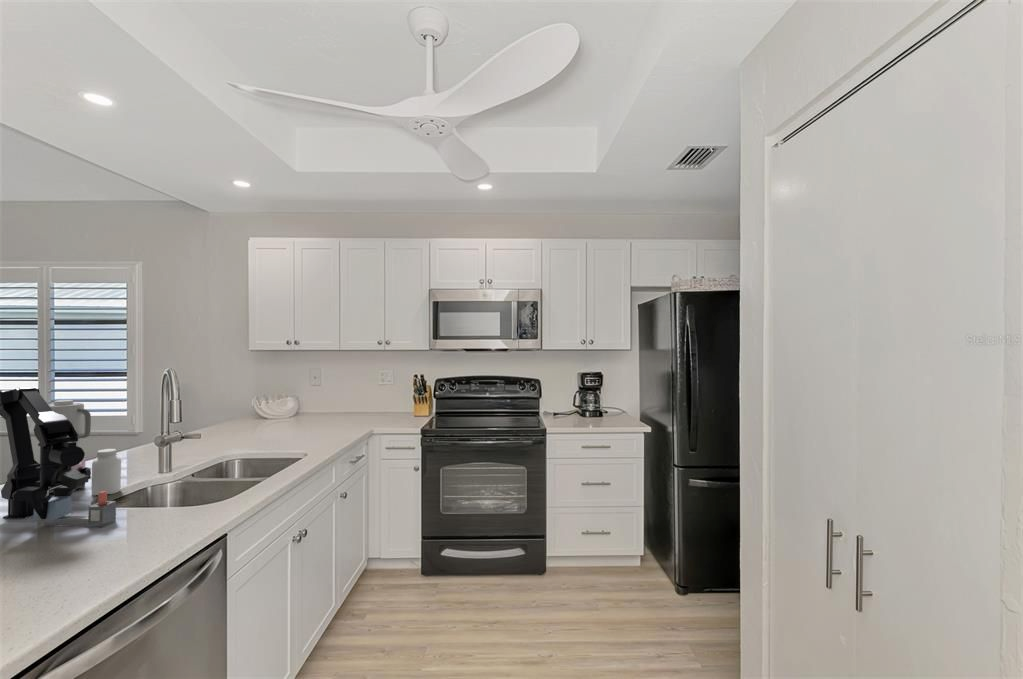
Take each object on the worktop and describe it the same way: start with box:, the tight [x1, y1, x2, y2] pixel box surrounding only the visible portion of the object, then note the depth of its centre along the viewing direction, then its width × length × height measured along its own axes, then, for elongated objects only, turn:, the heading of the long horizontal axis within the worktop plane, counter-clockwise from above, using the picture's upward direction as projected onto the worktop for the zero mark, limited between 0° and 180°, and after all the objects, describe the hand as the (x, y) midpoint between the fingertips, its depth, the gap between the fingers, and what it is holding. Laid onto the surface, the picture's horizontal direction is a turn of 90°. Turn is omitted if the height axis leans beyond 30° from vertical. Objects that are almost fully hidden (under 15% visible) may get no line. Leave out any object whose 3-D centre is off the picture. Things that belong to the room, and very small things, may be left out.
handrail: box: [43, 515, 88, 527], centre depth 144 cm, size 13×2×2 cm, turn 93°
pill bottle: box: [90, 448, 122, 496], centre depth 173 cm, size 8×8×15 cm
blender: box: [47, 399, 92, 494], centre depth 174 cm, size 16×12×32 cm
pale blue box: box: [33, 495, 72, 521], centre depth 144 cm, size 6×5×5 cm
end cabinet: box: [87, 500, 117, 529], centre depth 144 cm, size 4×5×6 cm
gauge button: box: [97, 491, 108, 505], centre depth 144 cm, size 2×2×5 cm
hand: (52, 515), depth 144 cm, fingers closed on pale blue box, 5 cm apart
